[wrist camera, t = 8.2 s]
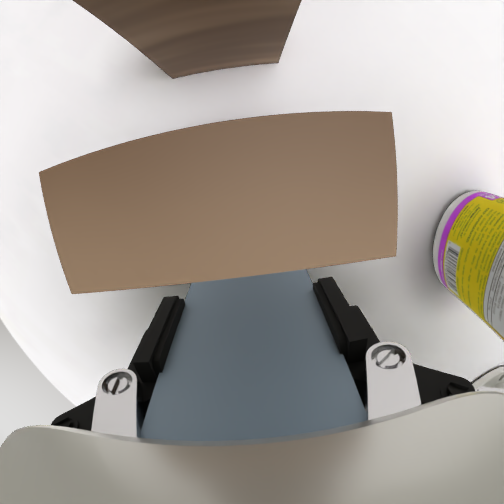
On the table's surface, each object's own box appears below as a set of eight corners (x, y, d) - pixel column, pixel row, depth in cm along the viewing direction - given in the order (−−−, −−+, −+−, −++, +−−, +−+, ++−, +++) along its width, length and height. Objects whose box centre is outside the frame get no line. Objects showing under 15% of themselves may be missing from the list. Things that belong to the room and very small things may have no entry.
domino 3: (303, 296, 14) (365, 491, 5) (203, 309, 14) (163, 504, 5) (301, 259, 13) (382, 458, 4) (195, 273, 13) (128, 475, 4)
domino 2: (293, 179, 13) (395, 256, 4) (189, 193, 13) (71, 294, 4) (289, 137, 12) (391, 112, 3) (182, 152, 13) (39, 172, 3)
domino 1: (278, 62, 11) (334, -80, 2) (172, 78, 11) (44, -18, 2) (272, 28, 10) (308, -123, 1) (169, 44, 11) (61, -71, 1)
